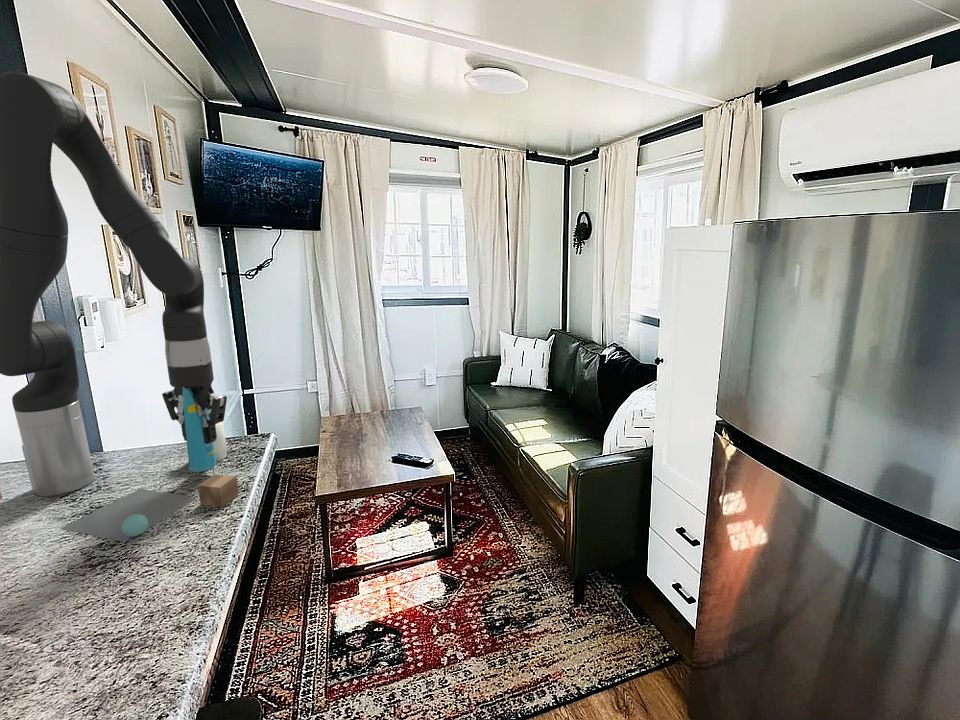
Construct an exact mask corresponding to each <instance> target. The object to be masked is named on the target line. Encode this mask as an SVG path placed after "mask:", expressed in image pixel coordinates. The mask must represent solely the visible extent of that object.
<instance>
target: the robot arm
mask: <svg viewBox="0 0 960 720" xmlns="http://www.w3.org/2000/svg"><path fill="white" fill-rule="evenodd" d="M53 144H54V145H55V146H56V147H57V148H58V149H59V150H60V151H61V152H62V153H63V154H64V155H65V156H66V157H67V158H68V159H69V160H70V161H71V162H72V164H73V165H74V166H75V167H76V169H77V170H78V171H79V172H80V175H81V176H82V178H83V180H84V181H85V183H86V185H87V188H88V189H89V190H88V191H89V193H90V195H91V198H92V200H93V202H94V204H95V206H96V208H97V209H98V212H99V213H100V215H101V216H102V217H103V219H104V221H105V222H106V223H107V224H108V226H109V227H110V228H111V230H113V232H114V233H115V234H116V235H117V237H118V238H119V239H120V240H121V241H122V242H123V244H125V246H126V247H128V249H129V250H130V252H131V253H132V255H133V257H134V259H135V261H136V262H137V264H138V265H139V267H140V269H141V270H142V272H143V274H144V276H145V277H146V278H147V279H148V281H149V282H150V283H151V284H152V285H153V287H155V288H156V289H157V290H158V291H159V292H161V293H162V294H164V299H165V309H164V311H163V312H162V318H161V319H162V321H161V322H162V328H163V329H162V330H163V335H164V352H165V360H166V367H167V368H166V369H167V372H168V373H167V374H168V380H169V385H170V387H172V388H173V389H172V390H169V391H165V392H163V393H162V394H161V396H162V399H163V401H164V404H165V406H166V407H165V408H166V410H167V411H168V414H169V417H170V419H171V420H172V421H177V422H178V424H179V425H180V427H181V434H182V437H183V440H184V441H185V442H187V441H186V431H185V420H184V409H183V387H184V388H191V390H192V392H193V396H192V397H193V401H194V404H195V405H196V410H197V416H198V417H200V419H201V422H202V424H203V426H204V427H203V434H204V442H205V444H210V443H212V442H214V441H215V440H216V438H217V434H216V426H215V425H216V424H217V423H219V422H222V421H223V422H224V421H225V417H226V416H225V414H226V406H227V401H228V400H227V399H228V397H227V396H226V395H225V394H223V395H219V394H216V393H215V390H214V389H213V388H212V384H213V381H214V379H215V377H214V371H213V369H214V368H213V361H212V354H211V347H210V344H209V340H208V333H207V326H206V325H207V324H206V319H205V314H204V313H205V312H204V310H205V309H204V308H205V307H204V306H205V303H204V302H205V284H204V275H203V272H202V270H201V268H200V266H199V265H198V264H197V263H196V262H195V261H193V260H192V259H189V258H188V257H182V255H181V254H180V253H179V252H178V250H177V249H176V248H175V246H174V244H172V242H171V241H170V240H169V238H170V237H169V236H170V235H169V232H168V231H167V230H166V228H165V226H164V225H163V224H162V223H161V221H160V220H159V219H158V217H157V216H156V214H154V212H153V211H152V210H151V208H150V207H149V206H148V205H147V204H146V202H145V201H144V199H143V198H142V197H141V196H140V194H139V193H138V192H137V190H136V189H135V188H134V187H133V186H132V184H131V183H130V181H129V179H128V178H127V177H126V175H125V173H124V172H123V171H122V169H121V168H120V167H119V165H118V164H117V161H116V160H115V158H114V157H113V155H112V154H111V152H110V151H109V149H108V148H107V146H106V144H105V142H104V141H103V140H102V138H101V136H100V134H99V133H98V130H97V129H96V127H95V125H94V124H93V121H92V120H91V118H90V116H89V114H88V113H87V111H86V110H85V108H84V106H83V105H82V104H81V102H80V101H79V100H78V98H77V97H76V96H75V95H74V94H73V93H72V92H70V91H69V90H68V89H67V88H64V87H63V86H61V85H58V84H57V83H54V82H52V81H49V80H45V79H43V78H41V77H40V78H39V77H37V76H34V75H31V74H27V73H25V72H19V71H6V72H3V73H1V74H0V375H2V376H5V377H20V376H25V375H30V374H33V373H34V375H33V377H32V379H31V380H30V381H29V383H27V384H26V385H25V386H23V387H22V388H21V389H19V390H18V391H17V392H15V393H14V394H13V395H12V398H11V401H12V406H13V410H14V414H15V419H16V422H17V425H18V429H19V434H20V438H21V442H22V445H21V449H22V452H23V456H24V457H23V458H24V462H25V465H26V469H27V473H28V474H27V475H28V477H29V481H30V484H31V485H30V486H31V490H33V491H34V494H35V495H36V496H39V497H51V496H52V497H54V496H59V495H63V494H68V493H71V492H74V491H77V490H79V489H82V488H84V487H86V486H88V485H89V484H92V482H93V481H94V480H95V479H96V478H95V473H94V472H95V470H94V467H93V466H94V465H93V461H92V458H91V456H92V455H91V452H90V447H89V442H88V438H87V434H86V429H85V423H84V419H83V415H82V409H81V406H80V401H79V396H78V390H79V387H80V378H79V377H80V376H79V372H78V371H79V369H78V364H77V363H78V361H77V356H76V349H75V345H74V341H73V339H72V337H71V334H70V333H69V332H68V329H66V328H65V327H64V326H63V325H62V324H61V323H58V322H57V321H54V320H38V321H34V317H35V316H34V314H35V311H36V308H37V304H38V302H39V300H40V299H41V297H42V296H43V294H44V293H45V292H46V290H47V289H48V288H49V287H50V286H51V284H52V283H53V281H54V280H55V279H56V278H57V276H58V275H59V274H60V272H61V270H62V268H63V267H64V265H65V264H66V260H67V256H68V255H67V254H68V242H69V241H68V240H69V223H68V218H67V214H66V212H65V209H64V207H63V205H62V202H61V199H60V197H59V194H58V193H57V191H56V188H55V185H54V183H53V177H52V167H51V165H52V163H51V162H52V151H53V150H52V149H53ZM175 408H176V410H177V411H176V410H175ZM206 408H207V410H206V411H202V410H203V409H206ZM207 414H208V416H209V420H208V419H207V416H206V415H207Z"/></svg>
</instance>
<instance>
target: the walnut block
mask: <svg viewBox="0 0 960 720" xmlns="http://www.w3.org/2000/svg"><path fill="white" fill-rule="evenodd" d="M238 487H239V485H238V479H237V475H227V474H213V475H212V476H210V477H209V478H207V479H206V480H204V481H202V482H201V483H200V484H198V485H197V489H198V497H199V502H200V505H201V506H202V505H203V506H213V507H224V506H225V505H227V504H228V503H229V502H231V501H232V500H233V499H234V498H236V497H237V496H238V495H239V494H240V493H239V488H238Z"/></svg>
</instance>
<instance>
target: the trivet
mask: <svg viewBox="0 0 960 720" xmlns="http://www.w3.org/2000/svg"><path fill="white" fill-rule="evenodd" d="M197 499H198V497H192V496H188V495H187V496H186V495H180V494H175V493H171V492H170V493H169V492H164V491H156V490H152V489H151V490H150V489H144V488H139V489H137V490H135V491H133V492H131V493H128V494H126V495H125V496H123V497H121V498H119V499H117V500H115V501H113V502H110V503H109V504H107V505H105V506H103V507H101V508H99V509H97V510H95V511H94V512H92V513H89V514H88V515H86V516H83V517H82V518H79V519H78V520H75V521H73V522H72V523H70V524H68V525H66V526H64V527H61V530H65V531H68V532H74V533H79V534H82V535H83V534H84V535H89V536H94V537H98V538H103V539H108V540H113V541H119V542H123V543H127V542H128V541H130V540H131V539H133V538H134V537H131V536H127V535H125V534H124V533H123V531H122V524H123V522H124V520H125V519H126V518H127V517H129V516H131V515H134V514H141V515H144V516H145V517H146V518H147V520H148V527H147V529H146V530H148V529H149V528H151V527H152V526H154V525H157V524H158V523H159V522H161V521H162V520H164V519H166V518H168V517H169V516H171V515H173V514H174V513H176V512H177V511H179V510H181V509H183V508H184V507H186V506H188V505H189V504H190V503H192V502H194V501H196V500H197Z"/></svg>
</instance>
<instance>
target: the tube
mask: <svg viewBox="0 0 960 720" xmlns="http://www.w3.org/2000/svg"><path fill="white" fill-rule="evenodd" d="M192 396H193V392H192V390H191V388H184V387H183V409H184V420H185V431H186V441H185V442H186V447H187V448H186V449H187V458H188V459H187V460H188V469H189V471H191V472H195V473H196V472H197V473H199V472H205V471H209V470H211V469H213V468H215V467H216V465H217V462H216V457H215V450H214V444H213V442H212V443H210V444H205V442H204V434H203V427H204V426H203V424H202V422H201V419H200V417H198V416H197V410H196V405H195V404H194V401H193V397H192ZM206 410H207V408H206V409H203V410H202V411H206ZM206 416H207V419H208V420H209V416H208V414H207V415H206Z"/></svg>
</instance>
